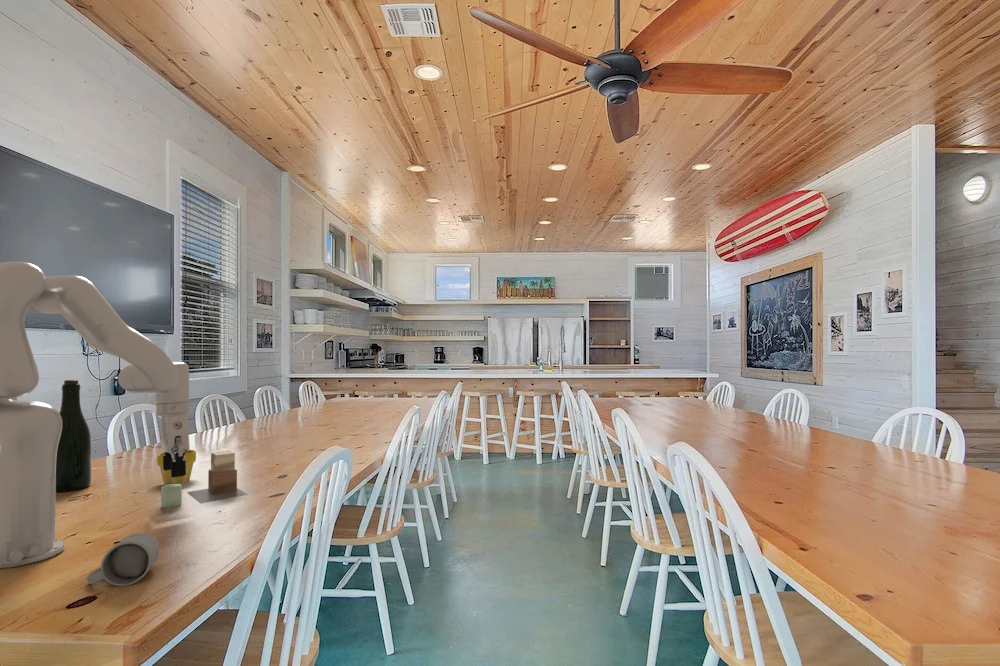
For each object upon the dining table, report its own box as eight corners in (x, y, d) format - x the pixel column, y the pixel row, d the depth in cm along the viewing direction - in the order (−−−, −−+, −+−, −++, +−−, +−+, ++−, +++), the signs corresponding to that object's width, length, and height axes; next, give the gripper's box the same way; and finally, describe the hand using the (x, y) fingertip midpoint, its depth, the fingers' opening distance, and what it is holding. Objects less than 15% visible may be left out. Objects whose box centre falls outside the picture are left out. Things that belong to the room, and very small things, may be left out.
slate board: (247, 498, 148) (247, 494, 148) (200, 507, 140) (200, 503, 140) (231, 487, 159) (231, 484, 159) (186, 495, 151) (186, 492, 151)
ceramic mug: (161, 565, 103) (161, 525, 103) (150, 582, 95) (150, 539, 95) (96, 575, 99) (95, 533, 99) (79, 593, 91) (79, 549, 91)
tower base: (236, 490, 153) (237, 469, 153) (214, 494, 148) (214, 473, 149) (230, 486, 157) (230, 466, 157) (208, 490, 153) (208, 469, 153)
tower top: (234, 469, 153) (234, 452, 153) (215, 472, 149) (215, 455, 149) (229, 467, 156) (229, 450, 157) (210, 469, 153) (211, 452, 153)
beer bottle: (46, 487, 161) (48, 379, 162) (90, 481, 168) (91, 378, 168) (46, 495, 153) (48, 381, 154) (92, 488, 160) (94, 379, 161)
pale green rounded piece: (183, 509, 139) (183, 486, 139) (162, 512, 136) (163, 489, 136) (179, 505, 142) (179, 483, 142) (159, 509, 139) (159, 486, 139)
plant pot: (159, 481, 167) (160, 450, 168) (197, 478, 172) (197, 448, 172) (154, 489, 158) (154, 457, 158) (193, 485, 162) (194, 453, 163)
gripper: (197, 410, 136) (198, 476, 136) (181, 404, 149) (182, 464, 149) (163, 413, 131) (164, 482, 131) (150, 407, 143) (151, 469, 144)
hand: (174, 472), depth 140 cm, fingers open, 9 cm apart
